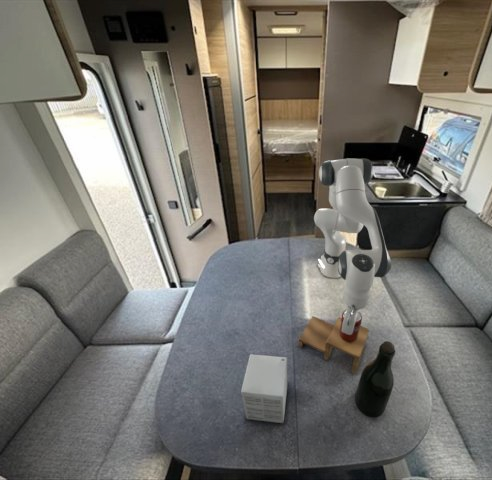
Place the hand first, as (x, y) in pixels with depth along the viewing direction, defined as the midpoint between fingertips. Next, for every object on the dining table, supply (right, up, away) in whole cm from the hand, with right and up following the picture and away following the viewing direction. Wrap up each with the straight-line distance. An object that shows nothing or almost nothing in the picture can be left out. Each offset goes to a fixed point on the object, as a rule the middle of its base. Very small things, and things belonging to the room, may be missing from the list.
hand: (351, 322), depth 100 cm
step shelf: (-5, -14, +13) cm, 20 cm away
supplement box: (-31, -26, -6) cm, 41 cm away
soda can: (0, -7, +4) cm, 8 cm away
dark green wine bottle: (+5, -27, -6) cm, 28 cm away
